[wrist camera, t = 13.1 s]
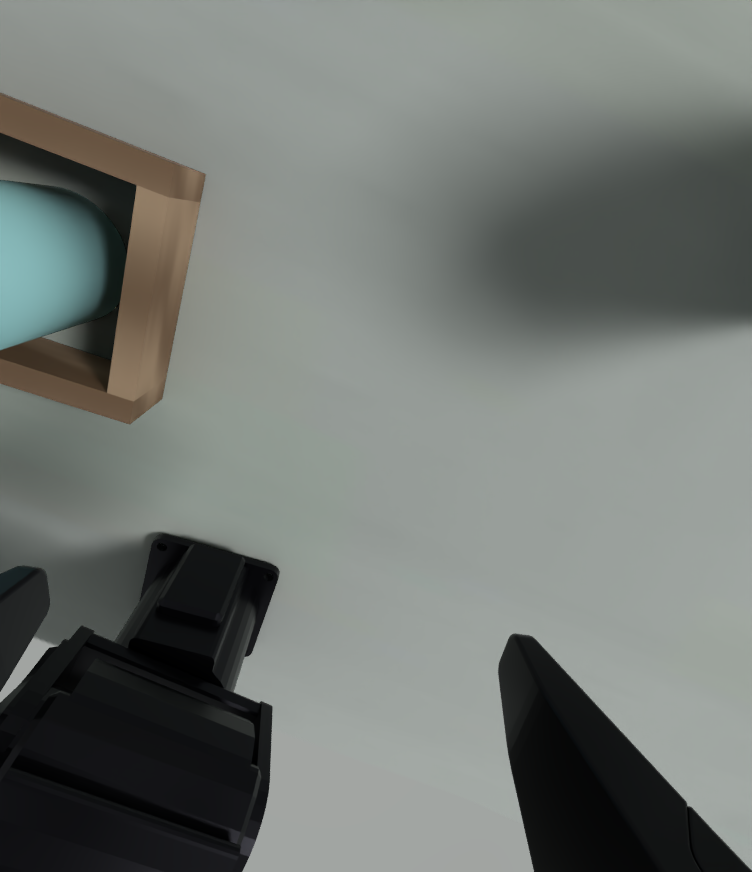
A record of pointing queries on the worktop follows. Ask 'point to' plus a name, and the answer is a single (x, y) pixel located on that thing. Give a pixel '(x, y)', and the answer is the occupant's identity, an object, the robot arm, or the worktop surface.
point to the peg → (54, 261)
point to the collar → (143, 277)
